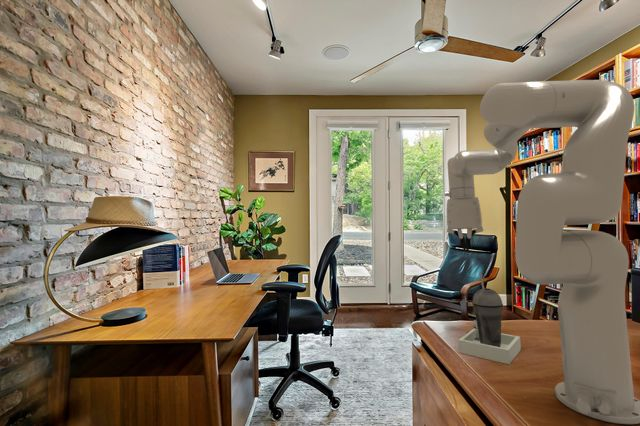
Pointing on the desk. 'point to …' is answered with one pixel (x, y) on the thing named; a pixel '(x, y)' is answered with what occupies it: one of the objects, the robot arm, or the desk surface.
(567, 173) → the robot arm
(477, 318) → the beverage cup
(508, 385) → the desk surface
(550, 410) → the desk surface
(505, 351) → the tray
